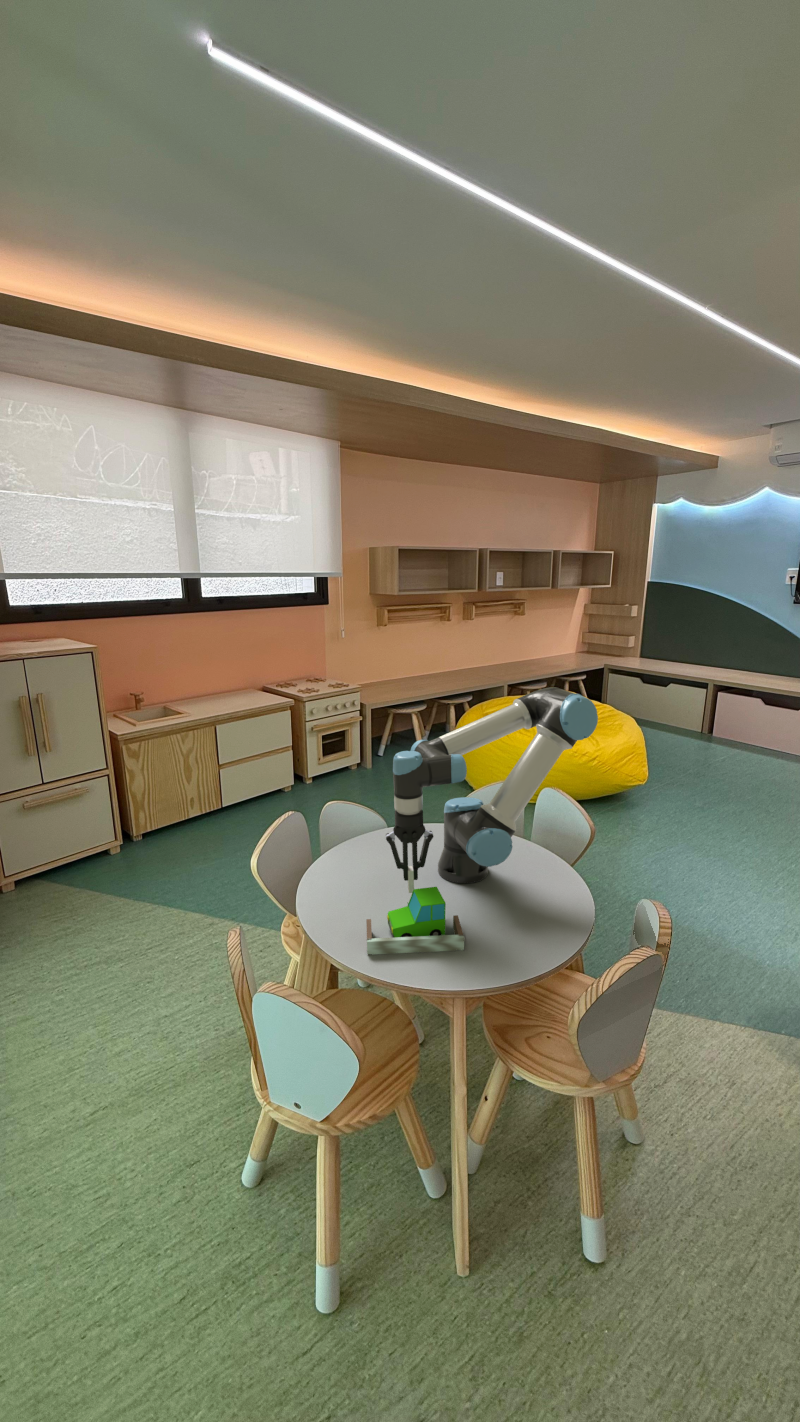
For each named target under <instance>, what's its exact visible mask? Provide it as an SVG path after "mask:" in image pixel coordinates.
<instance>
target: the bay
mask: <svg viewBox="0 0 800 1422" xmlns="http://www.w3.org/2000/svg"><path fill="white" fill-rule="evenodd" d="M452 928H453V929H452V930H453V933H454V934H445V935H439V936H417V937H395V938H393V937H379V938H378V937H377V938H376V937H375V938H373V936H372V935H373V933H372V919H371V918H370V919H368V918H367V919H366V955H367V954H372V955H388V954H390V955H391V954H409V953H411V954H412V953H413V954H414V953H430V952H431V953H433V952H436V953H437V952H451V951H454V952H456V951H464V950H465V935H464V932H463V927H462V925H461V921H460V918H459V915H457V914H456V915H453V916H452Z"/></svg>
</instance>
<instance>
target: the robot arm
mask: <svg viewBox="0 0 800 1422" xmlns="http://www.w3.org/2000/svg"><path fill="white" fill-rule="evenodd" d="M598 722H599V716H598V710H597V708H596V706H595V704H594V702H593V701H592V700H590V699H589V698H587V697H585V696H584V695H582V694H580V693H576V692H575V693H574V692H571V691H568V690H566V689H563V688H561V687H560V688H559V687H555V686H554V687H552V686H551V687H546V688H540V689H539V690H538V689H537V690H534V691H533V692H530V693H527V694H525V695H522V696H520V697H518V698H515V699H514V700H513V702H512V704H510V705H508V706H506V707H503V708H501V709H499V710H497V711H494V712H493V713H490V714H488V715H485V716H483V717H481V718H479V719H477V720H474V721H471V722H470V723H467V724H466V725H463V726H461V727H459V728H457V729H454V730H452V731H450V732H447V733H445V734H443V735H441V736H438V737H436V738H434V739H431V740H427V739H419V740H417V741H415V742H414V743H413V744H412V746H411V748H410V750H403V751H399V752H396V753H395V755H394V756H393V760H392V775H393V776H392V777H393V797H394V798H393V802H394V803H393V804H394V826H393V828H392V831H391V832H390V833H389V832H387V833H385V840H386V842H387V843H388V844H389V845H390V849H391V852H392V854H393V855H392V856H393V859H394V863H395V865H396V866H395V867H396V868H397V869H399V870H402V871H403V880H404V881H407V890H408V894H412V893H413V890H414V889H415V881H417V880H418V879H419V877H418V876H419V874H418V873H419V871H418V870H419V869H420V868H424V867H425V864H426V861H427V860H426V859H427V855H428V851H429V847H430V843H431V841H432V840H433V838H434V833H433V831H432V830H428V829H426V827H425V825H424V811H423V807H424V804H423V803H424V801H423V800H424V797H423V788H425V787H427V788H428V787H434V786H442V785H448V784H451V785H453V784H456V783H461V782H464V780H465V779H466V778H467V774H468V773H467V770H468V769H467V763H466V759H465V758H464V757H463V755H466V754H467V753H470V752H472V751H474V750H477V749H479V748H481V747H483V746H485V745H488V744H490V743H492V742H495V741H497V740H499V739H501V738H503V737H505V736H507V735H510V734H512V733H514V732H518V731H519V730H522V729H525V730H530V729H532V728H534V727H536V734H535V735H534V737H533V739H532V740H531V741H530V743H529V744H528V746H527V747H526V749H525V750H524V752H523V753H522V754H521V757H520V758H519V759H518V761H517V762H516V764H515V765H514V767H513V768H512V769H511V771H510V772H509V774H508V775H507V776H506V778H505V779H504V781H503V782H502V784H501V786H500V787H499V789H498V790H497V791H496V793H495V794H494V796H493V797H492V799H491V801H489V803H486V804H484V802H483V800H482V799H479V798H475V797H468V796H467V797H455V798H450V799H449V800H447V801H446V802H445V803H444V809H443V849H442V852H441V855H440V857H439V860H438V863H437V872H438V874H439V876H440V877H441V878H443V879H444V880H447V881H449V882H452V883H457V884H473V883H477V882H480V881H483V880H484V879H486V877H487V876H488V873H489V867H491V868H492V867H495V866H498V865H501V864H503V863H504V862H505V861H506V860H507V859H508V857H509V856H510V855H511V854H512V850H513V840H512V837H513V835H514V834H515V832H516V831H517V826H516V822H517V820H518V819H519V816H520V815H521V814H522V812H524V811H523V810H525V807H526V806H527V805H528V804H529V802H530V800H532V798H533V796H534V795H535V794H536V791H537V790H538V789H539V787H540V786H541V784H542V783H543V781H544V780H545V779H546V777H547V775H549V772H550V771H551V770H552V768H553V767H554V765H555V764H556V762H557V761H558V759H559V758H560V757H561V755H562V754H563V752H564V751H566V750H569V749H570V750H571V749H573V747H574V746H575V745H576V744H577V741H583V740H585V739H587V738H589V737H591V736H592V735H593V733H594V732H595V730H596V728H597V726H598ZM422 837H424V839H423V843H422V847H421V851H420V854H419V860H418V842H419V841H420V839H421V838H422ZM396 838H397V839H398V840H399V841H400V842H401V843H402V860H401V859H400V855H399V852H398V849H397V846H396ZM409 844H411V856H412V858H411V859H412V860H411V861H412V863H411V864H412V865H410V866H409V855H408V854H409V853H408V852H409V851H408V845H409ZM509 858H510V857H509Z"/></svg>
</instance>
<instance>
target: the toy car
mask: <svg viewBox="0 0 800 1422" xmlns="http://www.w3.org/2000/svg"><path fill="white" fill-rule="evenodd" d="M386 918H387V919H386V920H387V925H388V927H389V931H390V933H391V936H392V938H395V937H417V936H439V935H446V901H445V899H444V897H443V896H442V894H441V892H440V890H439V888H438V886H431V887H422V888H414V890H413V893H411V896H410V898H409V901H408V902H407V905H406V906H404V907H403V906H402V907H400V908H396V909H393V910H389V911H388V912H387V915H386Z"/></svg>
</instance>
